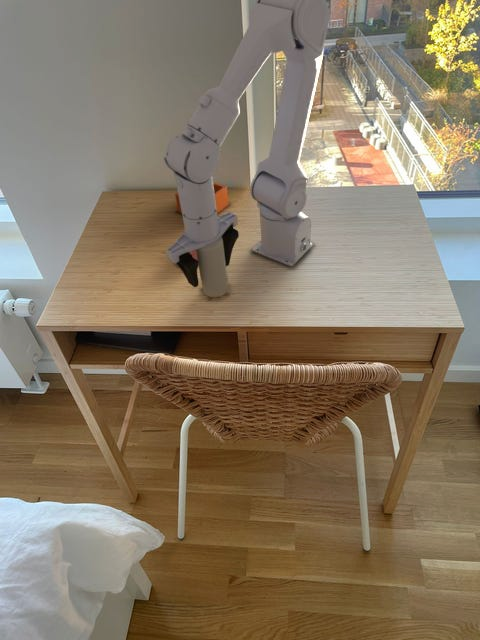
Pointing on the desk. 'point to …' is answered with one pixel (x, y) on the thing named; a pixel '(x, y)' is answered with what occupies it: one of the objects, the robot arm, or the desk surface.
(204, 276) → the beverage can
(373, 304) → the desk surface
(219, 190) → the orange open box
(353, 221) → the desk surface
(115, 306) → the desk surface
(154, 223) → the desk surface
